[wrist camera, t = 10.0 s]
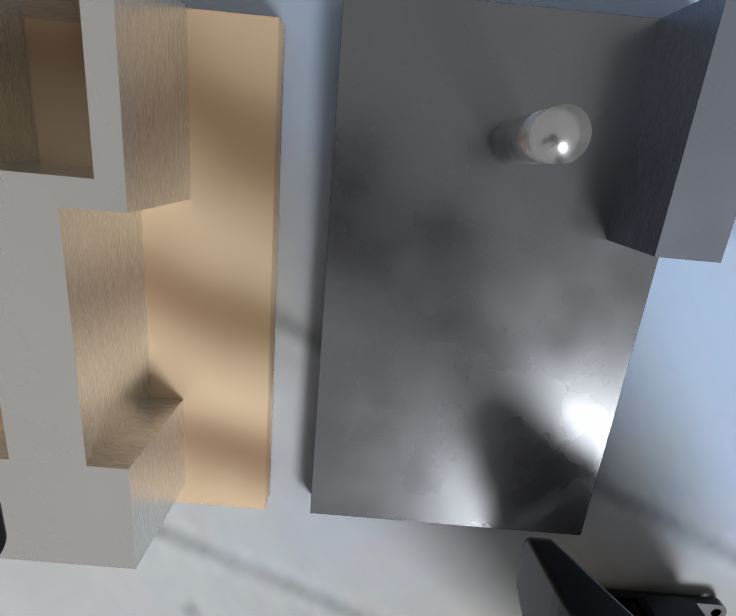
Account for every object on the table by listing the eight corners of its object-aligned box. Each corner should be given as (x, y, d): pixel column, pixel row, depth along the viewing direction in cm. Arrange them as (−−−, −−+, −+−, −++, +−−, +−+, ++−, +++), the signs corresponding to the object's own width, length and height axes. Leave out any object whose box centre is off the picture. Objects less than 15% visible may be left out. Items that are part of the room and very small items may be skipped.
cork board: (269, 493, 22) (264, 508, 21) (6, 471, 21) (-11, 486, 20) (284, 25, 16) (278, 16, 15) (-76, -10, 16) (-105, -21, 15)
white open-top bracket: (197, 482, 20) (150, 570, 16) (57, 471, 20) (-28, 555, 16) (186, 5, 15) (109, -58, 10) (-6, -14, 15) (-162, -85, 10)
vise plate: (571, 518, 22) (633, 632, 17) (313, 497, 22) (293, 605, 16) (703, 33, 16) (867, -30, 10) (345, -3, 16) (332, -85, 10)
